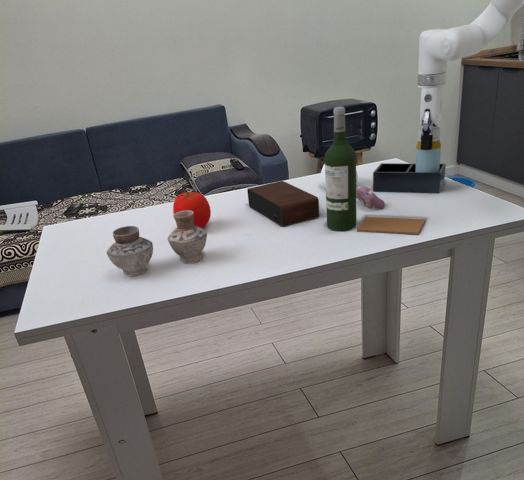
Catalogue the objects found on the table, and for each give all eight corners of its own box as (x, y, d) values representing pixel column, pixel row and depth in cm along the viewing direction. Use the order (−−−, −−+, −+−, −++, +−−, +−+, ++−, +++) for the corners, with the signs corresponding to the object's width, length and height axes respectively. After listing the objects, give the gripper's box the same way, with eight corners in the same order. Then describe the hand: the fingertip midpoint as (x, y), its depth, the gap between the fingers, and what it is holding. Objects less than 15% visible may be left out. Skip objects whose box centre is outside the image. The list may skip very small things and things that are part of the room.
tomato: (190, 220, 162) (184, 185, 157) (219, 224, 158) (213, 187, 152) (169, 233, 155) (161, 196, 149) (198, 237, 150) (192, 199, 144)
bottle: (424, 185, 161) (427, 132, 153) (410, 180, 167) (412, 129, 159) (443, 180, 163) (447, 127, 155) (428, 175, 169) (431, 125, 161)
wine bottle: (323, 230, 145) (318, 111, 129) (332, 220, 151) (329, 105, 134) (351, 232, 142) (349, 110, 125) (360, 222, 147) (359, 104, 131)
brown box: (319, 217, 153) (318, 197, 150) (282, 227, 150) (281, 206, 147) (282, 198, 172) (281, 180, 169) (249, 206, 168) (247, 187, 165)
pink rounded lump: (357, 207, 162) (347, 189, 158) (369, 198, 162) (360, 179, 158) (374, 216, 154) (365, 197, 150) (387, 206, 154) (378, 186, 150)
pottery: (215, 262, 134) (208, 215, 127) (115, 285, 128) (102, 237, 122) (204, 247, 143) (197, 203, 137) (111, 268, 138) (98, 223, 131)
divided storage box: (444, 183, 169) (445, 163, 166) (439, 193, 161) (440, 173, 158) (380, 181, 177) (381, 163, 173) (372, 191, 169) (373, 172, 166)
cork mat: (425, 221, 143) (425, 219, 143) (418, 235, 136) (418, 232, 135) (366, 218, 149) (366, 216, 149) (356, 231, 142) (356, 229, 142)
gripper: (441, 83, 142) (437, 153, 152) (449, 75, 155) (445, 139, 165) (412, 85, 145) (410, 153, 155) (423, 77, 158) (420, 140, 168)
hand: (428, 145), depth 160 cm, fingers closed on bottle, 7 cm apart
